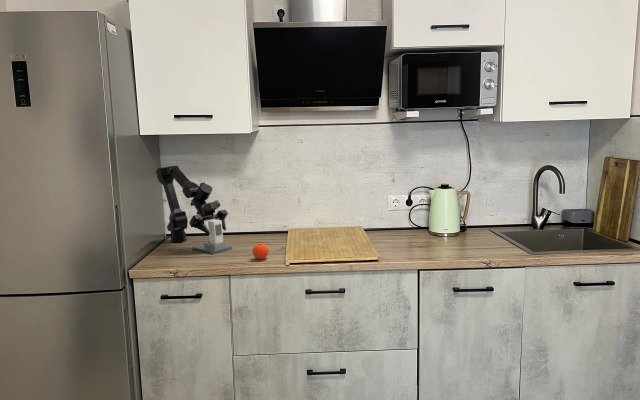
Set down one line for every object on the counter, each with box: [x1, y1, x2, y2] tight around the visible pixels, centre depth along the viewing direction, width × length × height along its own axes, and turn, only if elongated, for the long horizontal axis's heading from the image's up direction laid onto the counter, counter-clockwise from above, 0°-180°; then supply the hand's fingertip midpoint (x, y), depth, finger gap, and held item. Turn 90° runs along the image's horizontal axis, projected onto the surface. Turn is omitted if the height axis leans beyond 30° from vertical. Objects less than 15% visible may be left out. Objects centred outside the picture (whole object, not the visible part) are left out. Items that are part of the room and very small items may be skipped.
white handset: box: [207, 219, 224, 244], centre depth 229 cm, size 5×4×13 cm
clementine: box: [252, 242, 269, 260], centre depth 212 cm, size 8×7×7 cm
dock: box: [192, 239, 233, 255], centre depth 232 cm, size 16×11×4 cm
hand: (217, 232), depth 228 cm, fingers open, 9 cm apart
